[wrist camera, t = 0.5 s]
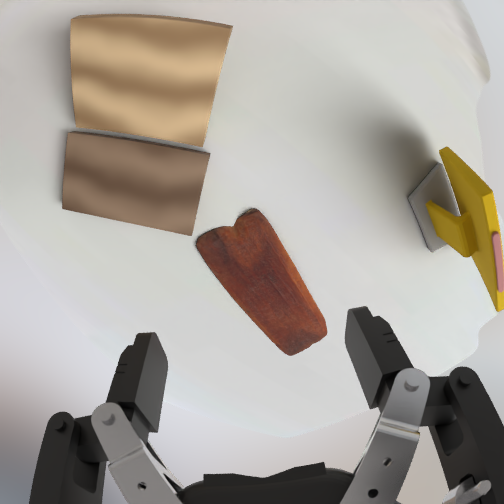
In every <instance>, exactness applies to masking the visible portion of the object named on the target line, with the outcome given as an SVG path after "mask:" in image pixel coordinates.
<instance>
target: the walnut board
mask: <svg viewBox="0 0 504 504" xmlns="http://www.w3.org/2000/svg"><path fill="white" fill-rule="evenodd" d="M209 157H210V153H206V152H201V151H196V150H191V149H186V148H181V147H176V146H171V145H166V144H160V143H154V142H149V141H143V140H136V139H130V138H123V137H117V136H109V135H102V134H94V133H85V132H76V131H74V132H69V133H68V137H67V145H66V154H65V165H64V178H63V200H62V209H65V210H70V211H75V212H80V213H84V214H89V215H94V216H99V217H104V218H108V219H113V220H118V221H123V222H127V223H132V224H137V225H142V226H146V227H151V228H156V229H160V230H165V231H170V232H175V233H179V234H184V235H189V236H192V233H193V229H194V224H195V219H196V214H197V209H198V205H199V200H200V196H201V191H202V187H203V182H204V178H205V174H206V170H207V165H208V161H209Z"/></svg>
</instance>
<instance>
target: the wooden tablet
mask: <svg viewBox="0 0 504 504" xmlns="http://www.w3.org/2000/svg"><path fill="white" fill-rule="evenodd" d="M196 246H197V249H198V251H199V252H200V254H201V255H202V257H203V259H204V260H205V262H206V263H207V265H208V266H209V268H210V269H211V270H212V272H213V273H214V275H215V276H216V277H217V279H218V280H219V281H220V282H221V284H222V285H223V286H224V288H225V289H226V290H227V291H228V293H229V294H230V295H231V296H232V297H233V299H234V300H235V301H236V302H237V304H238V305H239V306H240V307H241V308H242V309H243V310H244V311H245V313H246V314H247V315H248V316H249V317H250V318H251V319H252V320H253V321H254V322H255V324H256V325H257V326H258V327H259V328H260V329H261V330H262V331H263V332H264V333H265V334H266V335H267V336H268V337H269V339H270V340H271V341H272V342H273V343H275V344H276V346H277V347H278V348H279V349H280V350H282V351H283V352H284V353H285V354H287V355H289V356H292V355H294V354H297V353H299V352H301V351H303V350H304V349H306V348H309V347H310V346H311V345H312V344H313V343H316V342H318V341H320V340H321V339H322V338H323V337H325V336H326V335H327V327H326V322H325V319H324V317H323V315H322V313H321V312H320V310H319V308H318V307H317V305H316V303H315V301H314V300H313V298H312V296H311V294H310V293H309V291H308V289H307V287H306V285H305V283H304V282H303V280H302V278H301V276H300V274H299V272H298V271H297V269H296V267H295V265H294V263H293V262H292V260H291V259H290V257H289V255H288V253H287V252H286V250H285V249H284V247H283V245H282V243H281V241H280V240H279V238H278V236H277V234H276V233H275V231H274V229H273V228H272V226H271V225H270V223H269V222H268V220H267V219H266V218H265V216H264V215H263V214H262V213H261V212H260V211H259V210H257V209H251V210H249V211H248V212H246V213H245V214H243V215H242V216H240V217H239V218H238V219H237V220H236V222H235V224H234V226H232V227H230V226H222V227H218V228H215V229H213V230H211V231H209V232H207V233H205V234H203V235H202V236H201V237H199V238H198V240H197V243H196Z"/></svg>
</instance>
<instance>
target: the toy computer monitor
mask: <svg viewBox="0 0 504 504" xmlns="http://www.w3.org/2000/svg"><path fill="white" fill-rule="evenodd" d="M439 154H440V156H441V159H442V161H443V164H444V166H445V169H446V172H447V174H448V177H449V180H450V183H451V186H452V189H453V192H454V195H455V198H456V201H457V204H458V208H459V211H460V214H461V216H460V214H459V211H458V208H457V204H456V201H455V198H454V195H453V192H452V189H451V186H450V183H449V180H448V178H447V175H446V172H445V169H444V167H443V164H441V163H437V165H436V166H435V167H434V168H433V169H432V171H431V172H430V173H429V174H428V175H427V176H426V178H425V179H424V180H423V181H422V182H421V183H420V185H419V186H418V187H417V188H416V189H415V190H414V191H413V193H412V194H411V195H410V196H409V197H408V200H409V202H410V204H411V206H412V209H413V211H414V213H415V216H416V218H417V220H418V223H419V225H420V228H421V230H422V233H423V235H424V238H425V241H426V243H427V246H428V249H429V250H430V251H431V252H434V251H436V250H437V249H439V248H441V247H443V246H444V245H446V244H449V245H450V246H451V247H452V248H454V249H455V250H456V251H457V252H458V253H460V254H461V255H462V256H463V257H470V256H472V258H473V260H474V262H475V264H476V266H477V268H478V270H479V272H480V274H481V277H482V279H483V281H484V283H485V285H486V287H487V290H488V292H489V294H490V297H491V299H492V301H493V304H494V306H495V309H496V311H497V312H499V311H501V310H503V309H504V260H503V250H502V242H501V234H500V227H499V221H498V215H497V210H496V205H495V200H494V195H493V191H492V190H491V189H490V188H489V186H488V185H487V184H486V183H485V182H484V181H483V180H482V179H481V178H480V177H479V176H478V175H477V174H476V173H475V172H474V171H473V170H472V169H471V168H470V167H469V166H468V165H467V164H466V163H465V162H464V161H463V160H462V159H461V158H460V157H458V156H457V155H456V154H455V153H454V152H453V151H452V150H451V149H450V148H449V147H445V148H443V149H441V150H439Z"/></svg>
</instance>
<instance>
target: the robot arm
mask: <svg viewBox="0 0 504 504" xmlns="http://www.w3.org/2000/svg"><path fill="white" fill-rule="evenodd" d="M345 344H346V348H347V351H348V353H349V356H350V358H351V361H352V363H353V366H354V368H355V371H356V374H357V376H358V379H359V381H360V384H361V387H362V389H363V392H364V395H365V397H366V400H367V403H368V405H369V408H370V409H373V408H376V407H378V408H379V410H380V415H379V418H378V420H377V423H376V425H375V428H374V430H373V432H372V434H371V437H370V439H369V442H368V443H367V446H366V448H365V450H364V452H363V454H362V456H361V458H360V460H359V462H358V464H357V465H356V467H355V469H354V471H353V473H350V472H347V471H344V470H340V469H335V468H325V464H324V462H321V463H317V464H311V465H306V466H299V467H294V468H291V469H289V470H286V471H284V472H281V473H278V474H275V475H272V476H269V477H266V478H259V477H252V476H245V475H239V474H233V473H232V474H204V480H203V481H199V482H196V483H193V484H191V485H189V486H187V487H185V488H184V487H183V485H182V484H181V483H180V482H179V481H178V480H177V479H176V478H175V476H173V474H172V473H171V472H170V470H169V469H168V468H167V466H166V465H165V464H164V463H163V461H162V460H161V458H160V457H159V455H158V454H157V453H156V451H155V450H154V448H153V447H152V445H151V443H150V442H149V441H148V434H149V432H156V433H157V432H158V427H159V421H160V414H161V408H162V401H163V395H164V389H165V383H166V377H167V371H168V361H167V357H166V354H165V352H164V350H163V348H162V345H161V343H160V341H159V339H158V336H157V334H156V333H155V332H150V333H138V334H137V335H136V338H135V341H134V344H133V345H128V346H127V348H126V349H125V350H124V351H123V352H122V354H121V356H120V359H119V362H118V366H117V368H116V371H115V372H116V373H115V374H114V378H113V380H112V384H111V387H110V390H109V393H108V397H107V400H106V403H104V404H102V405H100V406H98V407H97V408H96V409H95V410H94V412H93V414H92V415H90V416H85V417H80V418H75V419H74V418H73V417H72V416H71V415H70V414H69V413H67V412H59V413H56V414H54V415H53V416H52V417H51V418H50V420H49V422H48V424H47V427H46V431H45V434H44V438H43V441H42V445H41V449H40V453H39V457H38V461H37V466H36V470H35V474H34V479H33V485H32V489H31V495H30V501H29V504H102V496H103V486H104V477H105V469H106V461H110V464H109V465H108V468H109V471H110V473H111V475H112V476H113V478H114V480H115V482H116V484H117V485H118V487H119V489H120V491H121V492H122V494H123V496H124V497H125V499H126V501H127V502H128V504H401V503H399V502H397V501H396V499H397V496H398V494H399V492H400V490H401V487H402V485H403V482H404V480H405V477H406V475H407V472H408V470H409V467H410V464H411V462H412V459H413V456H414V453H415V450H416V447H417V444H418V441H419V437H420V433H419V432H418V430H419V427H420V426H428V427H429V430H430V433H431V435H432V438H433V441H434V444H435V447H436V450H437V452H438V456H439V459H440V462H441V465H442V468H443V471H444V474H445V478H446V481H447V484H448V488H449V492H448V493H447V494H446V496H445V497H444V499H443V502H442V504H504V426H503V424H502V422H501V419H500V418H499V415H498V413H497V411H496V409H495V407H494V405H493V403H492V401H491V399H490V397H489V395H488V394H487V392H486V390H485V388H484V386H483V384H482V382H481V381H480V379H479V377H478V375H477V374H476V373H475V371H473V370H472V369H470V368H468V367H457V368H455V369H454V370H453V371H452V372H451V373H450V375H449V376H446V377H445V376H444V377H429V376H427V375H426V374H425V373H424V372H423V371H421V370H419V369H415V368H414V367H413V365H412V364H411V362H410V360H409V358H408V356H407V355H406V353H405V351H404V349H403V347H402V346H401V344H400V342H399V341H398V339H397V337H396V335H395V333H393V330H392V328H391V327H390V325H389V323H388V322H387V321H385V320H384V319H383V318H381V317H380V316H375V317H373V316H372V314H371V312H370V311H369V309H368V307H366V306H363V307H358V308H353V309H349V310H348V314H347V322H346V330H345Z"/></svg>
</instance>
